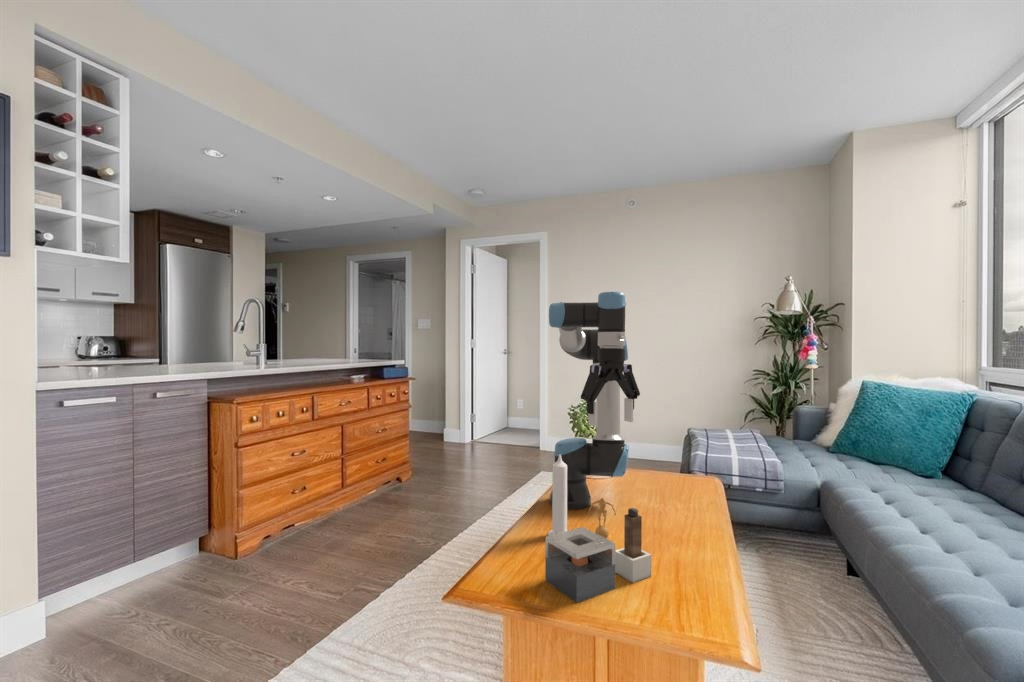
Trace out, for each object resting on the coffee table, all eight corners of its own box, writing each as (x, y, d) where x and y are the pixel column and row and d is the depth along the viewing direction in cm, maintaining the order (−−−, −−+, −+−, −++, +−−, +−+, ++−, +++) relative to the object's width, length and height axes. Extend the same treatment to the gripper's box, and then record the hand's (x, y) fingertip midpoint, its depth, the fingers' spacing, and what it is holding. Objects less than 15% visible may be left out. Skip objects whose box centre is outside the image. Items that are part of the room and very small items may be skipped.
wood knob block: (624, 571, 123) (624, 509, 123) (632, 568, 125) (632, 506, 125) (633, 576, 120) (633, 512, 121) (641, 573, 122) (641, 510, 122)
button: (568, 581, 118) (568, 557, 118) (580, 577, 120) (580, 553, 120) (578, 588, 114) (578, 563, 114) (591, 584, 116) (591, 559, 116)
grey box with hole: (545, 580, 119) (545, 536, 119) (582, 568, 125) (582, 526, 125) (576, 603, 109) (576, 554, 109) (615, 588, 115) (615, 543, 115)
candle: (543, 536, 146) (543, 454, 146) (557, 529, 152) (557, 450, 152) (561, 542, 142) (562, 458, 142) (575, 535, 147) (576, 454, 147)
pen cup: (613, 572, 124) (613, 550, 124) (632, 565, 127) (632, 545, 127) (632, 583, 118) (632, 560, 118) (651, 576, 122) (651, 554, 122)
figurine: (587, 540, 143) (587, 500, 143) (589, 532, 149) (589, 494, 149) (615, 543, 141) (615, 502, 141) (616, 535, 147) (616, 496, 147)
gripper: (586, 347, 124) (585, 429, 124) (652, 347, 137) (652, 421, 137) (567, 347, 130) (567, 425, 130) (633, 347, 143) (632, 417, 143)
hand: (611, 423), depth 134 cm, fingers open, 13 cm apart
